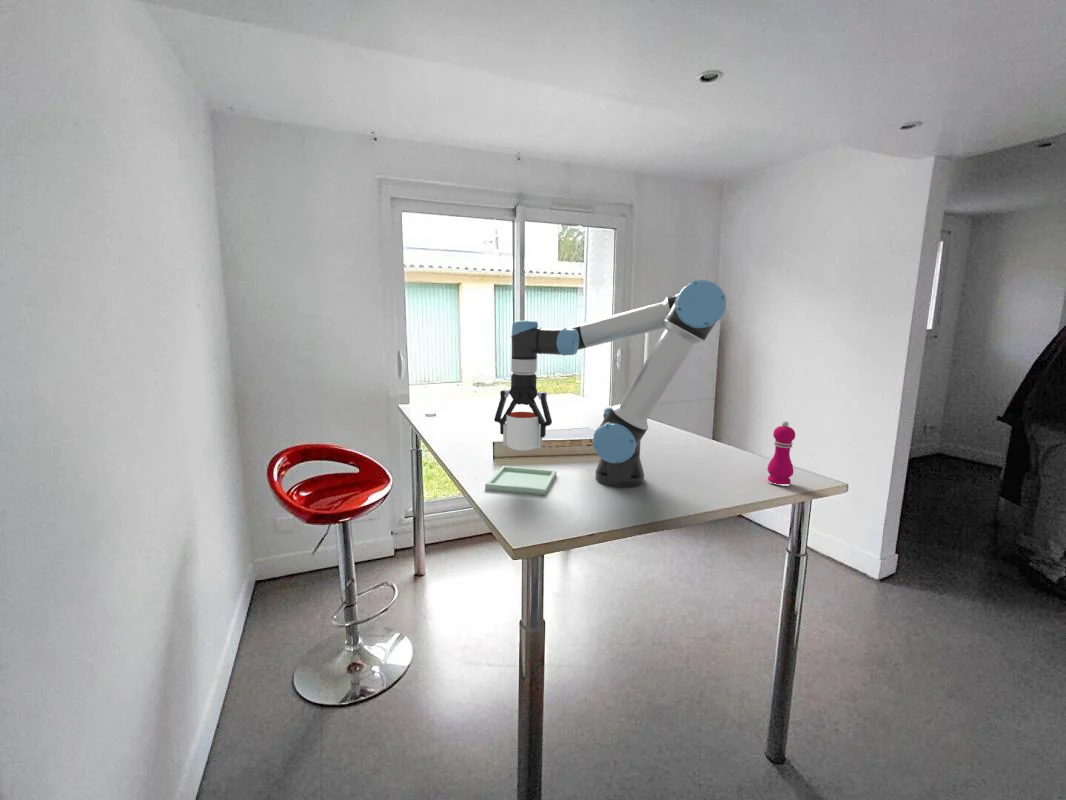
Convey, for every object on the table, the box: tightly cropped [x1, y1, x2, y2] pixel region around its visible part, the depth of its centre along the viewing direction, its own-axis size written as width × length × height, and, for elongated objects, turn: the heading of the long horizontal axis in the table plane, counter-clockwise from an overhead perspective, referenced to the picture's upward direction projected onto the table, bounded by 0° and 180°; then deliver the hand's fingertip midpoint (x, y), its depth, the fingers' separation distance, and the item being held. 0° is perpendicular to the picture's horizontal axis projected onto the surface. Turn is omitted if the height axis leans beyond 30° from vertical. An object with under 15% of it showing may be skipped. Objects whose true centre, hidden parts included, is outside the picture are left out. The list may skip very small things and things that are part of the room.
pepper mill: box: [766, 420, 796, 485], centre depth 145 cm, size 7×7×20 cm
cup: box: [505, 411, 540, 451], centre depth 140 cm, size 10×10×10 cm
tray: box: [484, 465, 557, 496], centre depth 143 cm, size 18×18×2 cm
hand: (522, 446), depth 141 cm, fingers closed on cup, 10 cm apart
